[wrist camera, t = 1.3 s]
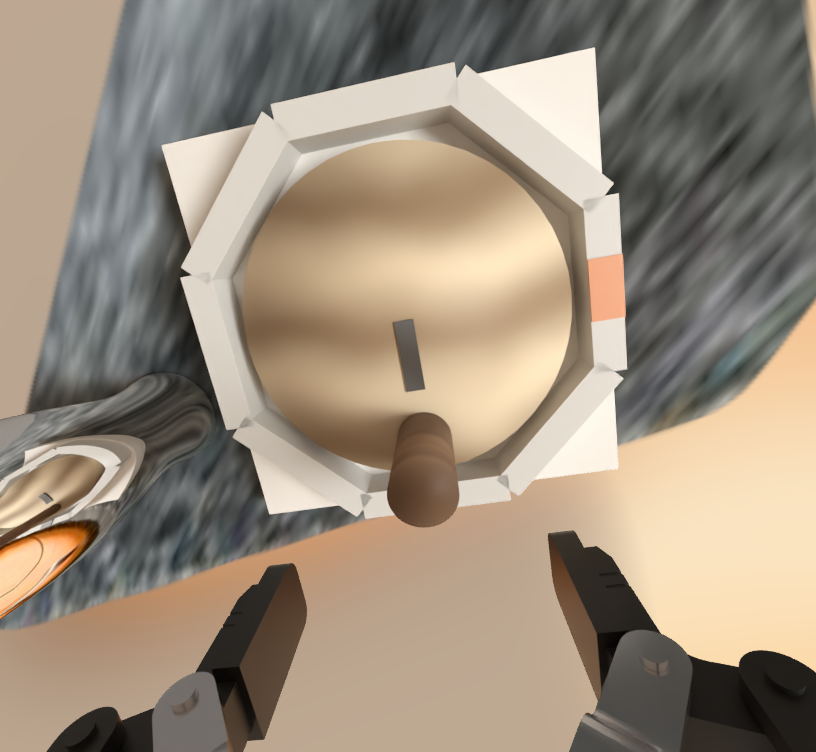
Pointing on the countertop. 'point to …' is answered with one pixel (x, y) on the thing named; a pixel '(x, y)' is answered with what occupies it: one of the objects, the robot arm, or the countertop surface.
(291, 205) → the dial
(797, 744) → the robot arm
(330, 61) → the countertop surface
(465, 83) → the dial housing
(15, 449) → the beer glass
